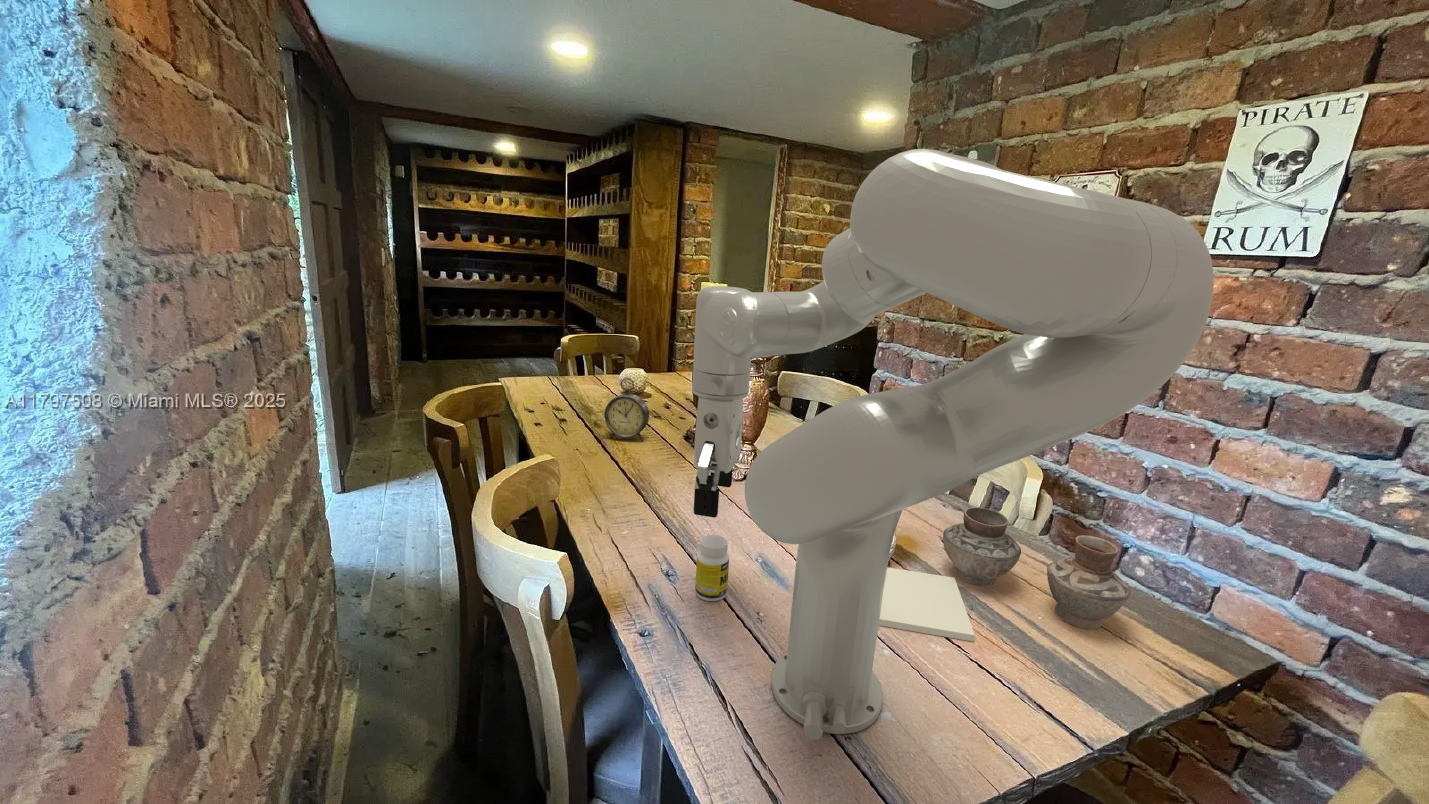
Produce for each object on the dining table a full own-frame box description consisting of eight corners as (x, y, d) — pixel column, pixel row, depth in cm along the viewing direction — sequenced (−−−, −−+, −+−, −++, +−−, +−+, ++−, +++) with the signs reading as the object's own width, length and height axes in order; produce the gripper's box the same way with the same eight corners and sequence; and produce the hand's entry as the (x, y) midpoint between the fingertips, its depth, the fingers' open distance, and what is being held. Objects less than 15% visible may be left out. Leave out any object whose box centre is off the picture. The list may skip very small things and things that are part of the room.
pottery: (1112, 653, 73) (1134, 573, 70) (926, 575, 89) (937, 507, 86) (1125, 616, 82) (1145, 542, 78) (952, 550, 98) (963, 487, 94)
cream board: (973, 641, 74) (974, 635, 74) (865, 623, 77) (865, 616, 77) (953, 583, 87) (954, 577, 87) (861, 569, 90) (862, 563, 90)
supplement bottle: (723, 604, 80) (726, 552, 77) (691, 599, 80) (693, 547, 78) (729, 585, 84) (732, 535, 82) (699, 581, 85) (701, 531, 83)
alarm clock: (603, 439, 144) (603, 378, 140) (611, 433, 149) (610, 374, 145) (644, 444, 143) (645, 382, 138) (650, 437, 148) (651, 377, 143)
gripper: (737, 402, 65) (727, 533, 70) (758, 371, 81) (749, 479, 86) (675, 395, 67) (670, 524, 71) (708, 366, 83) (702, 472, 88)
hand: (713, 499), depth 79 cm, fingers open, 9 cm apart
